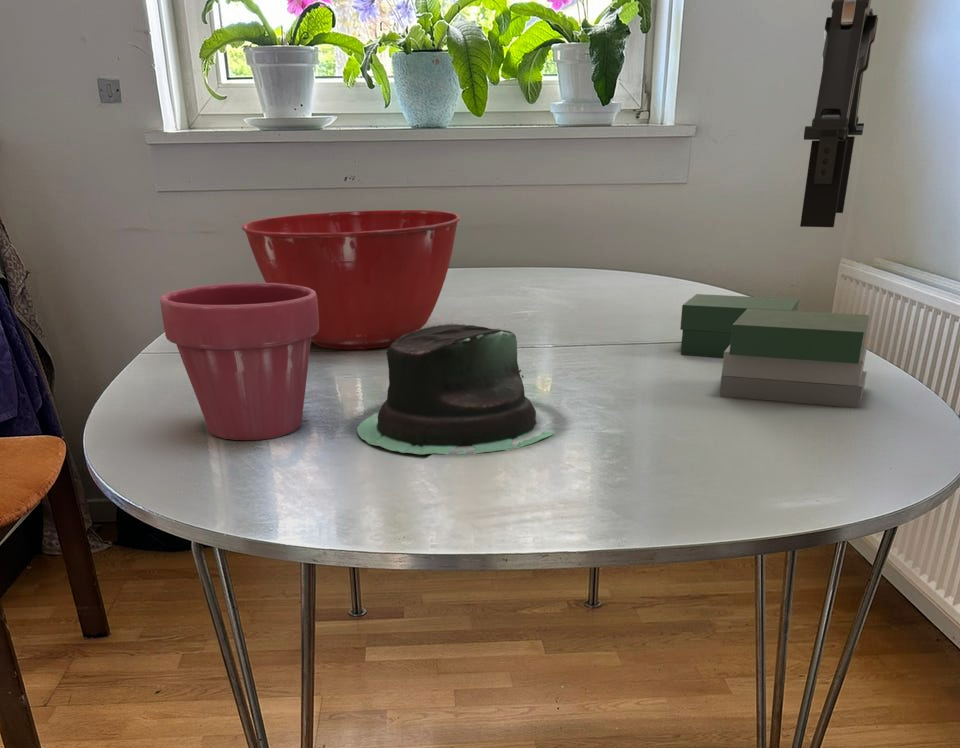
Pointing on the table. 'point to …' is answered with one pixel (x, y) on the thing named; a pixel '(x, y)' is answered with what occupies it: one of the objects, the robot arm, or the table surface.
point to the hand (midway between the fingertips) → (822, 219)
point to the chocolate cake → (453, 393)
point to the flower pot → (245, 353)
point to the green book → (799, 335)
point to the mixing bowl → (360, 268)
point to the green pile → (719, 320)
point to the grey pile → (793, 380)
